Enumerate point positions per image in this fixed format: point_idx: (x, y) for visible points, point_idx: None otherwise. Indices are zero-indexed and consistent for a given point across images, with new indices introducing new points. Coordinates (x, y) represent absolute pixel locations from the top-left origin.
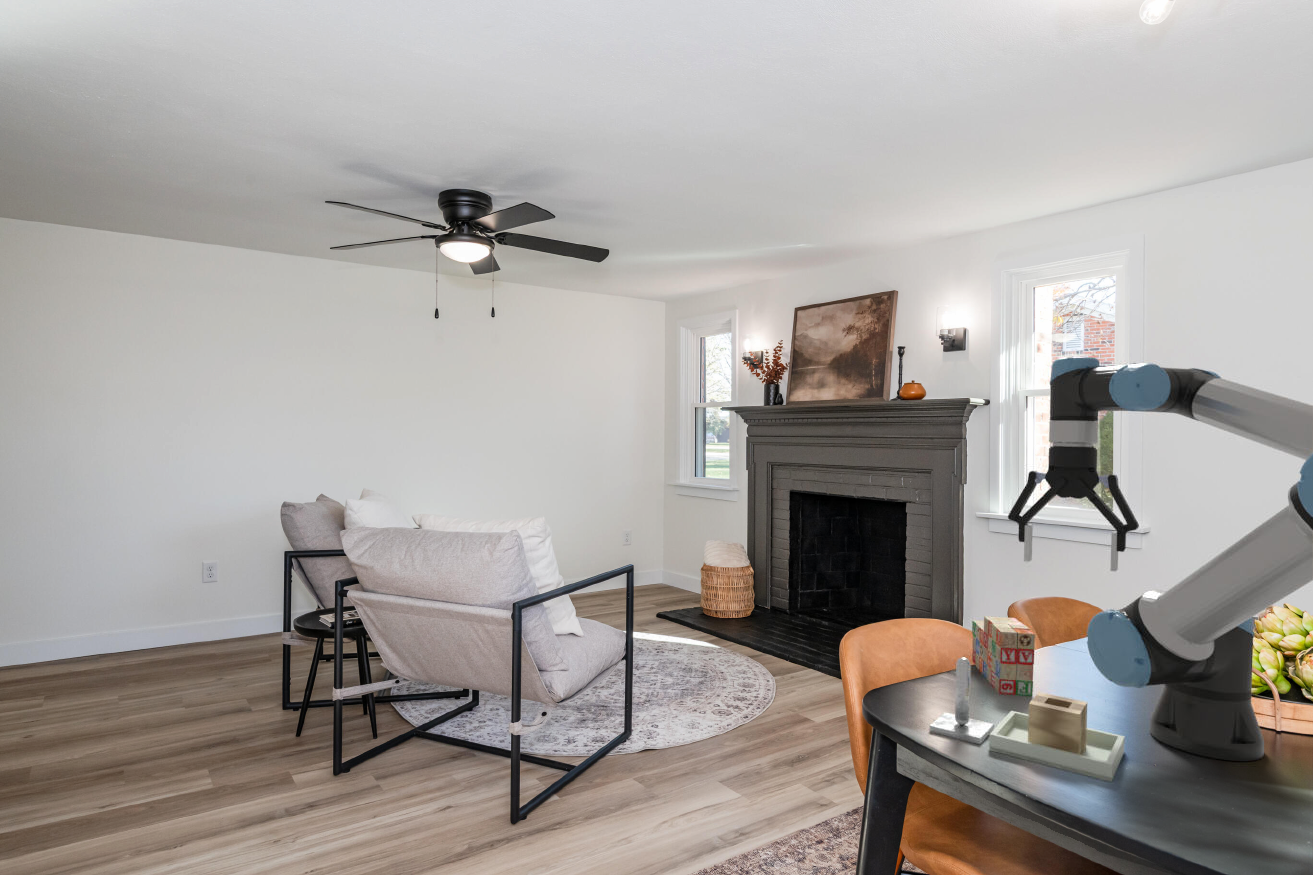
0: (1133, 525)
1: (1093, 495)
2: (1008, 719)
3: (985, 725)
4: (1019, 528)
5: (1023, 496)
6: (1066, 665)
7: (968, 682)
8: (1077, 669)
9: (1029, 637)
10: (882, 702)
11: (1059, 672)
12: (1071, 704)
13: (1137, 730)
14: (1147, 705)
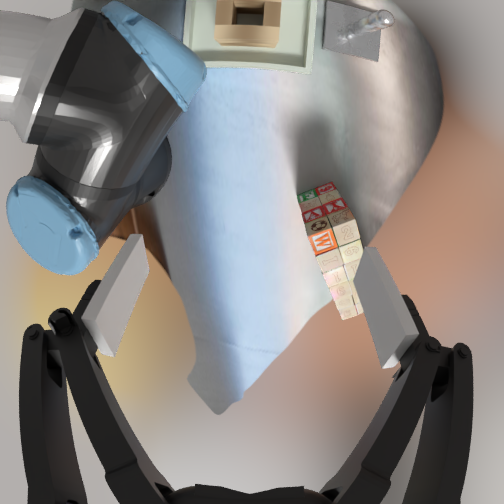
0: (29, 335)
1: (115, 487)
2: (308, 40)
3: (331, 39)
4: (424, 329)
5: (459, 438)
6: (271, 312)
7: (367, 16)
8: (260, 307)
9: (314, 230)
10: (435, 85)
11: (275, 290)
12: (231, 16)
13: (182, 148)
14: (187, 237)
